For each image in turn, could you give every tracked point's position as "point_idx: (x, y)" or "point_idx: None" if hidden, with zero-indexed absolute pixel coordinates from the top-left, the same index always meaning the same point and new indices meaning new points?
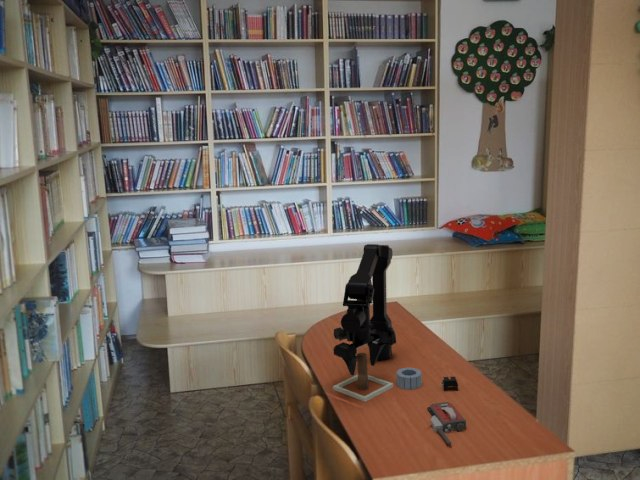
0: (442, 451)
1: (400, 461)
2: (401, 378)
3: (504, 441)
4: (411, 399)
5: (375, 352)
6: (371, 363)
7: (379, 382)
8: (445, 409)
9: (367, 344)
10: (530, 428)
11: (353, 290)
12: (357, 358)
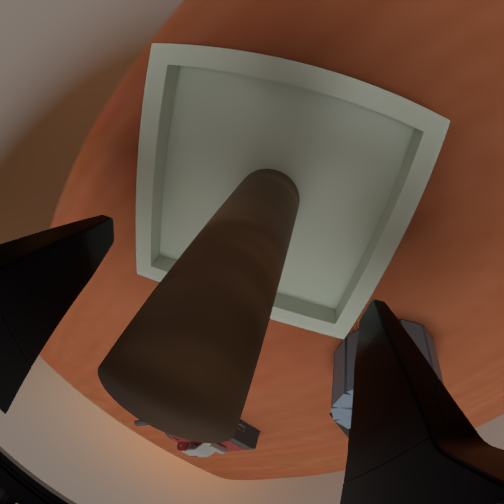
0: (121, 409)
1: (60, 365)
2: (337, 392)
3: (204, 458)
4: (277, 378)
5: (360, 455)
6: (371, 316)
7: (362, 265)
8: (192, 450)
9: (466, 473)
10: (258, 475)
11: None
12: (119, 339)
